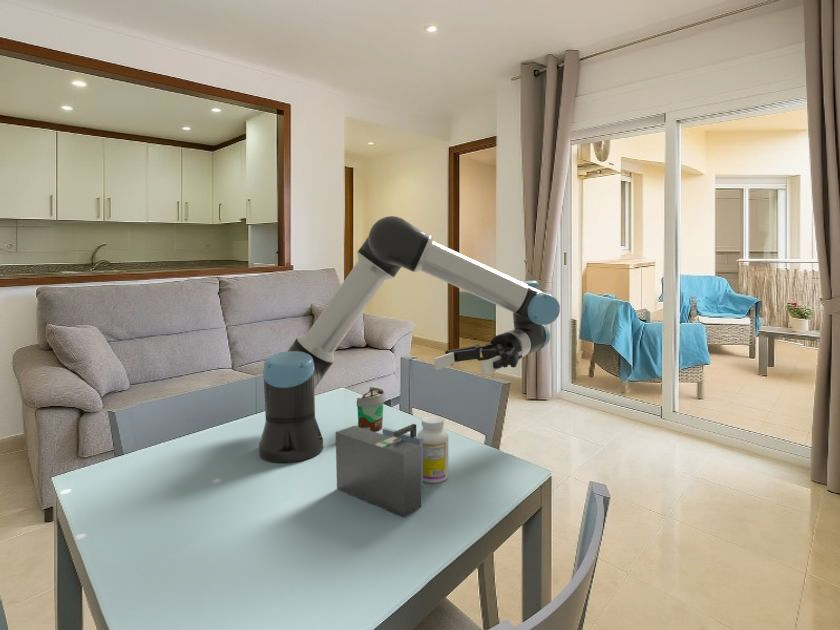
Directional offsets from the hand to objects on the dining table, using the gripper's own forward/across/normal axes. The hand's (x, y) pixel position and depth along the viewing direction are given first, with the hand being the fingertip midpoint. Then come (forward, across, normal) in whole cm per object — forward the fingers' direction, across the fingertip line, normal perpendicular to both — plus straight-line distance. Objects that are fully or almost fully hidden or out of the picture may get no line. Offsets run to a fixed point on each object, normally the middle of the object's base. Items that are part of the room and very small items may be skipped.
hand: (458, 366), depth 114 cm
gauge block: (+26, +2, -20) cm, 33 cm away
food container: (0, +32, -20) cm, 38 cm away
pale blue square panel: (+21, +2, -20) cm, 29 cm away
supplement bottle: (+12, 0, -22) cm, 25 cm away
